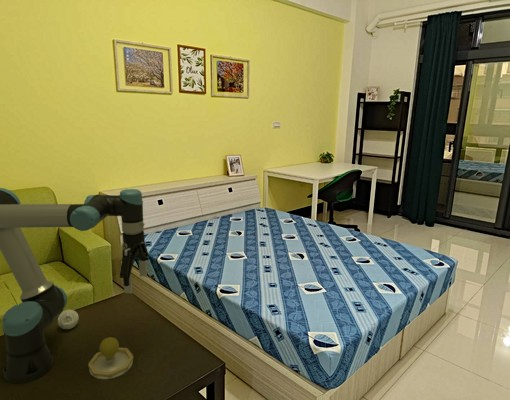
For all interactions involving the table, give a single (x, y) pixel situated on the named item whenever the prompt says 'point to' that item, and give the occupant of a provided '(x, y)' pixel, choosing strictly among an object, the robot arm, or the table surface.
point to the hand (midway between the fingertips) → (136, 284)
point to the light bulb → (109, 349)
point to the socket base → (118, 368)
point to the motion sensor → (68, 319)
